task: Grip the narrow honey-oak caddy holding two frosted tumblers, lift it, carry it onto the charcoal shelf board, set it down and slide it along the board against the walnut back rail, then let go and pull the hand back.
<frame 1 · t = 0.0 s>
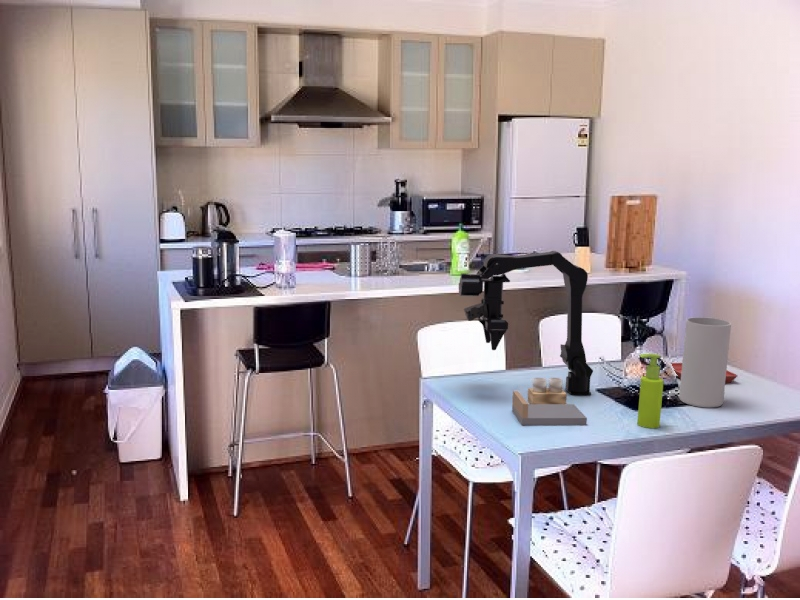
hand: (490, 346, 238), 15 cm above the table, fingers open, 9 cm apart
glass caddy: (546, 403, 231), on the table
cylinder vase: (700, 402, 236), on the table
soap dispenser: (646, 425, 214), on the table
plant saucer: (698, 378, 263), on the table
shelf: (548, 417, 218), on the table
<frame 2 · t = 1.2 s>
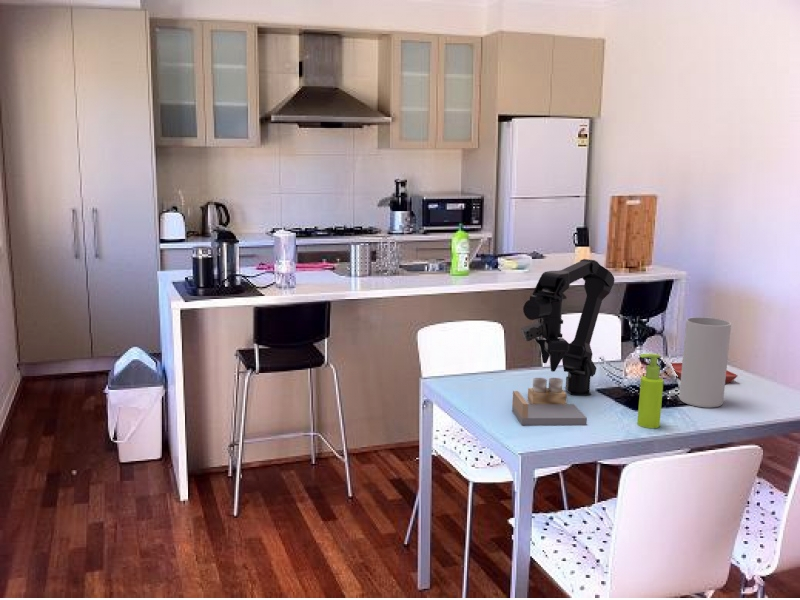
hand: (548, 367, 229), 11 cm above the table, fingers open, 9 cm apart
nothing on the table moved.
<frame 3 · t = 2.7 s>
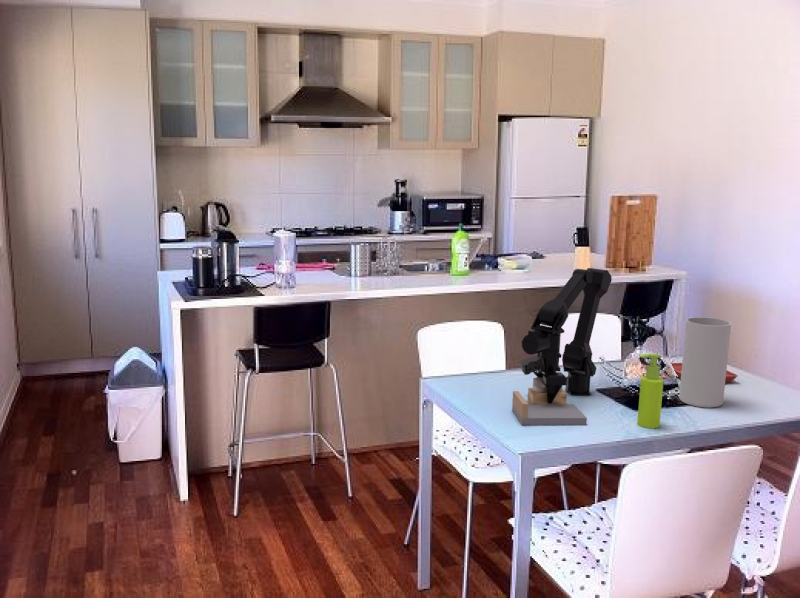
hand: (546, 400, 231), 1 cm above the table, fingers closed on glass caddy, 6 cm apart
glass caddy: (546, 403, 231), on the table, touching gripper
everything else where it was.
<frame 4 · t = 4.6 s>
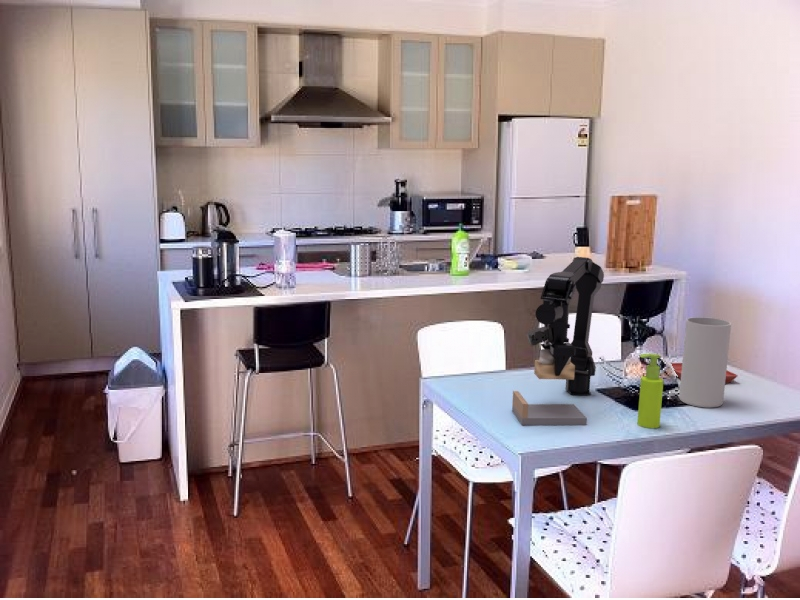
hand: (554, 372, 221), 11 cm above the table, fingers closed on glass caddy, 6 cm apart
glass caddy: (553, 376, 222), point 10 cm above the table, touching gripper
everything else where it was.
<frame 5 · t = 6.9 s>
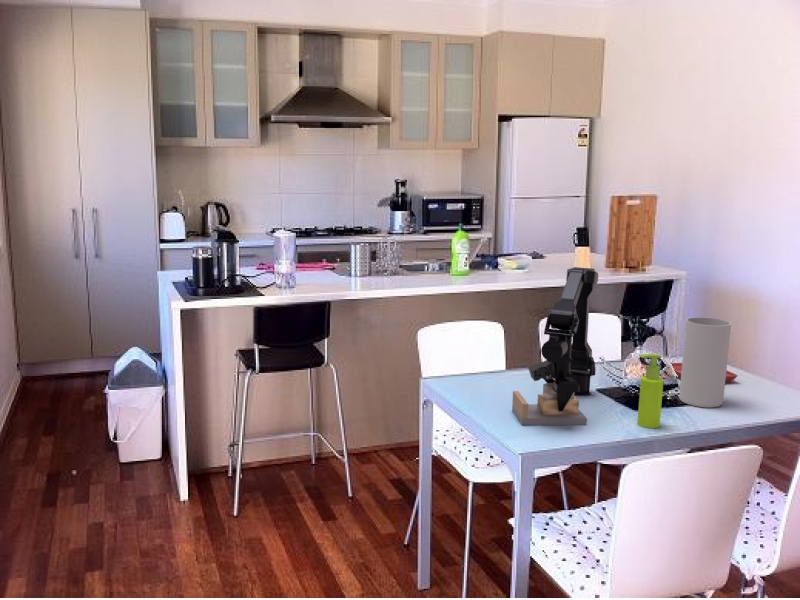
hand: (557, 407, 217), 3 cm above the table, fingers closed on glass caddy, 6 cm apart
glass caddy: (557, 410, 218), point 2 cm above the table, touching gripper
everything else where it was.
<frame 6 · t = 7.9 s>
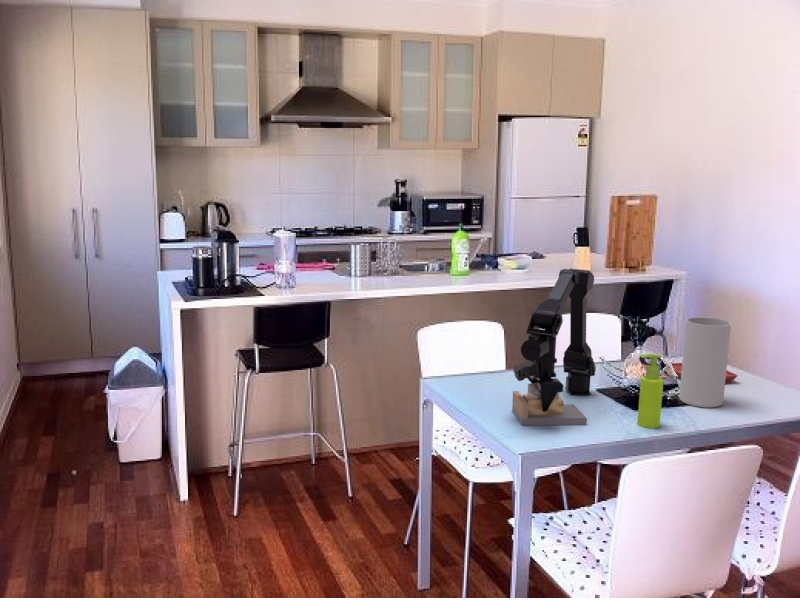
hand: (541, 407, 217), 3 cm above the table, fingers closed on glass caddy, 6 cm apart
glass caddy: (542, 411, 217), point 2 cm above the table, touching gripper, shelf
everything else where it was.
when the fingers open (3 cm above the table, at t = 8.9 s): glass caddy stays where it is, resting on shelf.
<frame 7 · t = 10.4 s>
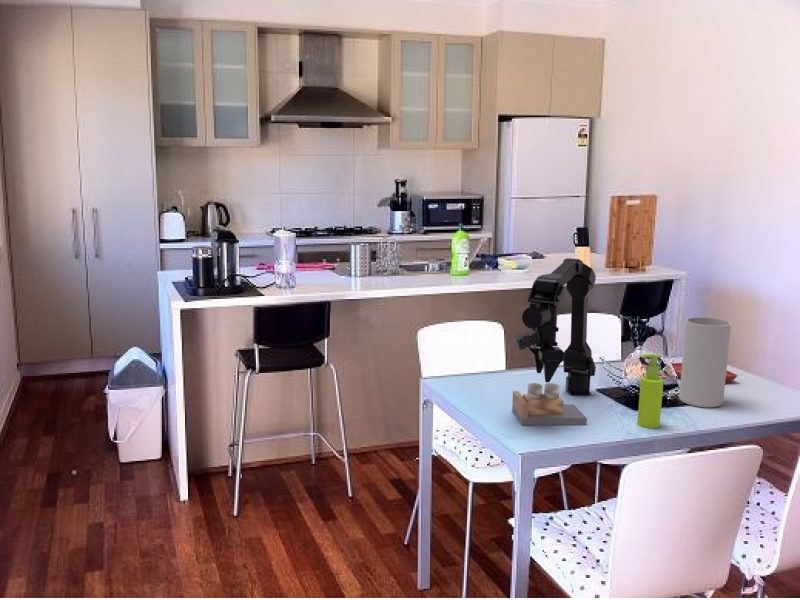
hand: (542, 377, 215), 12 cm above the table, fingers open, 9 cm apart
glass caddy: (542, 411, 217), point 2 cm above the table, touching shelf
everything else where it was.
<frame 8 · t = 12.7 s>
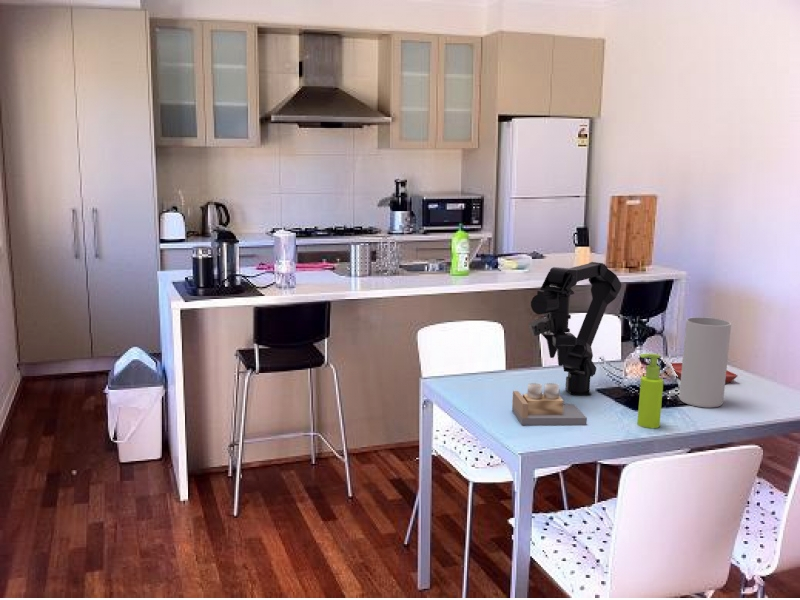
hand: (556, 361, 232), 12 cm above the table, fingers open, 9 cm apart
nothing on the table moved.
at the end: glass caddy 0.6 cm from the target spot on the shelf, point 2.0 cm above the shelf's base; glass caddy tilted 0°; the gripper is holding nothing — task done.
